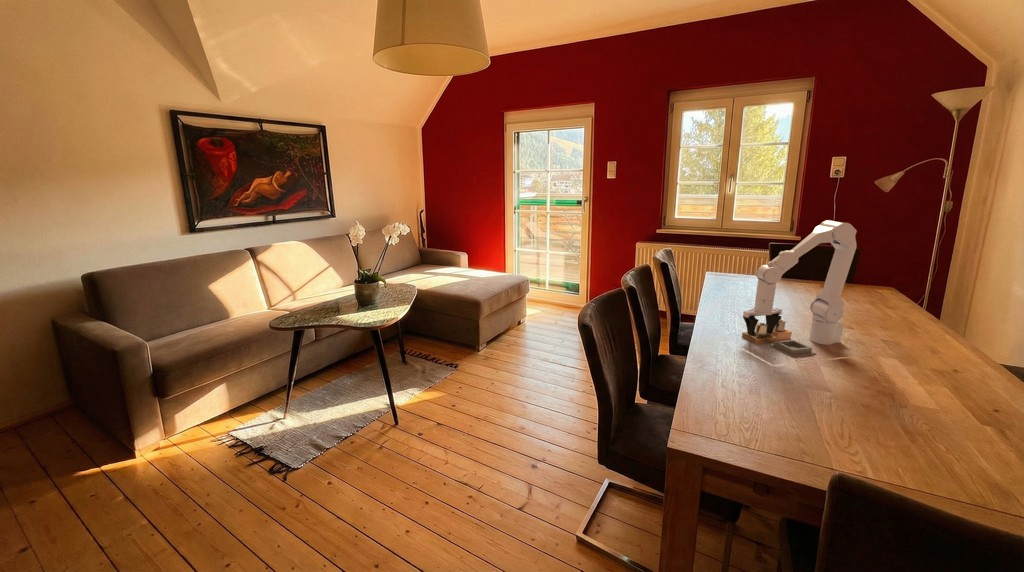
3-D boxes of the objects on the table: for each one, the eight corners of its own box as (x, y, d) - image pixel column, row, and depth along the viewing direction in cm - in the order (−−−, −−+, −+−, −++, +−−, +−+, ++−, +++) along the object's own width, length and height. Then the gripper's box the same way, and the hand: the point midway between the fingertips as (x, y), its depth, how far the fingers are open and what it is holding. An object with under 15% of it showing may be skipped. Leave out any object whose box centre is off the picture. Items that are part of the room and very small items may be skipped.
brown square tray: (760, 336, 164) (760, 330, 163) (775, 343, 157) (776, 337, 156) (741, 338, 162) (742, 332, 162) (756, 345, 155) (757, 339, 155)
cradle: (792, 345, 155) (793, 338, 155) (815, 356, 146) (817, 348, 146) (769, 347, 154) (770, 340, 153) (791, 358, 144) (792, 351, 144)
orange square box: (777, 334, 166) (779, 326, 165) (790, 340, 160) (791, 331, 159) (764, 335, 164) (765, 327, 164) (776, 341, 159) (777, 333, 158)
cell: (765, 339, 160) (768, 322, 158) (764, 342, 157) (767, 325, 155) (754, 337, 162) (756, 321, 160) (753, 340, 159) (755, 323, 157)
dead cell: (777, 334, 164) (780, 318, 163) (785, 337, 161) (788, 321, 159) (769, 335, 163) (772, 319, 162) (777, 338, 160) (779, 322, 158)
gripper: (773, 294, 161) (768, 328, 164) (739, 296, 158) (734, 331, 161) (788, 299, 154) (783, 335, 157) (753, 302, 151) (748, 338, 155)
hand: (759, 334), depth 159 cm, fingers open, 7 cm apart
